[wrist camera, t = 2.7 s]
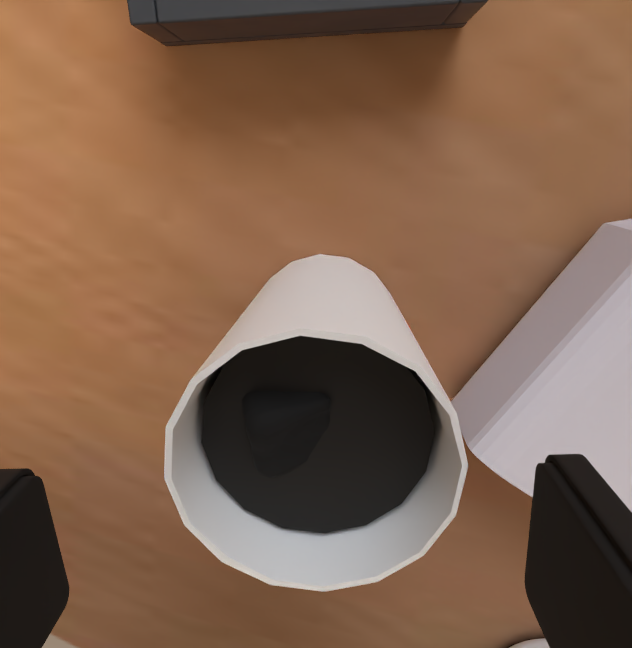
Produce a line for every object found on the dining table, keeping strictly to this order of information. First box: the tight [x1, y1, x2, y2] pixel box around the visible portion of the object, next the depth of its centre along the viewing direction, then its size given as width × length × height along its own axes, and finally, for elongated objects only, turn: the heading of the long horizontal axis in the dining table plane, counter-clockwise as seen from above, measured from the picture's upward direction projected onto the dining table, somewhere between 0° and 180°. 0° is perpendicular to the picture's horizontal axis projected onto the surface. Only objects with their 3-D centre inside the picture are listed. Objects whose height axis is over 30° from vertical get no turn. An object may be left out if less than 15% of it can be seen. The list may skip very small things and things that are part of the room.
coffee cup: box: [164, 254, 468, 592], centre depth 16 cm, size 7×7×10 cm
